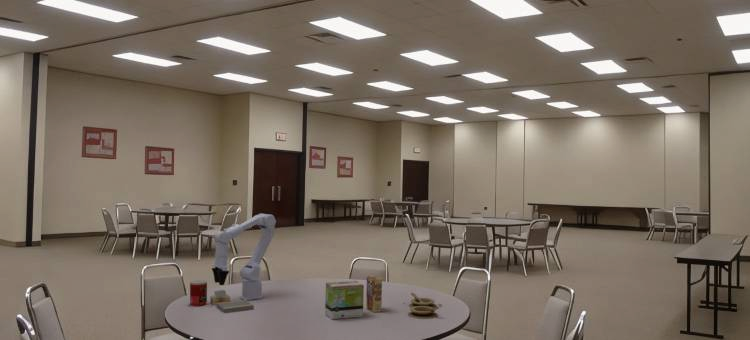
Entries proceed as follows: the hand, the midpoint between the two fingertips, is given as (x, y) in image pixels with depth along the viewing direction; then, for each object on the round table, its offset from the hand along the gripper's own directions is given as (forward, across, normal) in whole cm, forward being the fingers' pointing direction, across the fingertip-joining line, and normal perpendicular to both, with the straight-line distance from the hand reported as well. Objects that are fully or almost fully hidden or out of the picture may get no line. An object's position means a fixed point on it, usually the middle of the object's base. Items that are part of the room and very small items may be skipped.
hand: (219, 283), depth 279 cm
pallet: (+10, 0, +1) cm, 10 cm away
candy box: (+6, +50, +59) cm, 78 cm away
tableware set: (+6, +62, +78) cm, 100 cm away
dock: (+10, +14, +4) cm, 17 cm away
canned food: (+10, -3, -9) cm, 14 cm away
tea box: (+8, +52, +42) cm, 67 cm away
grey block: (+6, 0, +1) cm, 6 cm away
